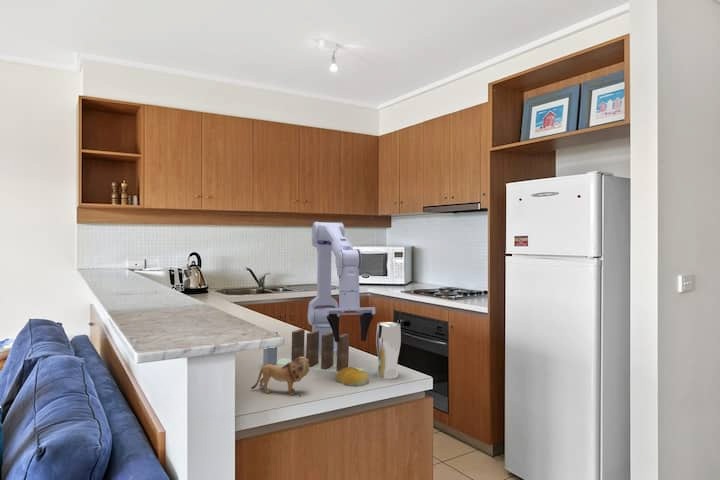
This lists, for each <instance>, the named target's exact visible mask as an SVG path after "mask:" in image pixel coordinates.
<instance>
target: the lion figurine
mask: <svg viewBox="0 0 720 480" xmlns="http://www.w3.org/2000/svg"><path fill="white" fill-rule="evenodd" d="M308 362H309V360H308V359H307V358H306V356H304V357H298V358H296V359H295V360H294V361H292V362H290V363H287V364H286V365H283V366H278V365H272V364H267V365H265V366H263V365H262V367H261V368H260V371H259V372H258V376H257V381H256V382H255V384H254V385H253V386H252V387H250V389H251V390H254V389H256V387H258V386H259V387H258V388H259V389H261V390H263V389H264V392H265V393H266V394H270V393H271V389H269V388H268V384H269V381H270V379H271V378H272V379H274V380H275V381H277V382H281V383H282V382H284V383H285V382H286V383H287V391H288V394H289V395H290V396H294V395H295V391H296V389H295V388H293V387H294V383H297V382H300V381H301V380H302V379H303V378H305V376H307V374H308V373H309V370H310V369H309V363H308ZM261 377H262V378H261ZM258 384H259V385H258Z"/></svg>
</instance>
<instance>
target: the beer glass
mask: <svg viewBox="0 0 720 480" xmlns="http://www.w3.org/2000/svg"><path fill="white" fill-rule="evenodd" d="M376 326H377V327H376V335H375V338H376V339H375V343H376V344H375V345H376V353H377V359H378V360H377V361H378V362H377V363H378V364H377V365H378V366H377V372H376V377H377V378H379V379H385V380H394V379H398V378H399V373H398V372H399V371H398V362H399V359H398V358H399V355H400V350H401V349H400V348H401V343H402V342H401V341H402V340H401V339H402V337H401V335H402V333H401V324H400V323H398V322H394V321H393V322H391V321H380V322H378V323H377V324H376Z"/></svg>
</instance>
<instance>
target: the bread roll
mask: <svg viewBox="0 0 720 480" xmlns="http://www.w3.org/2000/svg"><path fill="white" fill-rule="evenodd" d="M356 368H357V367H355V368H354V367H353V366H348V367H345V368H343V369H342V370H340V371H339V372H338V373H337V372H336V375H335V376H336V377H335V378H336V381H337V382H338V383H340V384H343V385H344V386H347V387H362V386H365V385H367V384H369V381H370V379H369V375H368V373H367V372H365V371H359V370H358V369H356Z"/></svg>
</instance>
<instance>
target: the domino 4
mask: <svg viewBox="0 0 720 480" xmlns="http://www.w3.org/2000/svg"><path fill="white" fill-rule="evenodd" d="M333 351H334V335H333V332H328V333H326V334H323V335H322V346H321V354H320V358H321V359H320V363H321V369H325V370H326V369H328V368H330V367H331V366H333V365H334V353H333Z"/></svg>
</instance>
